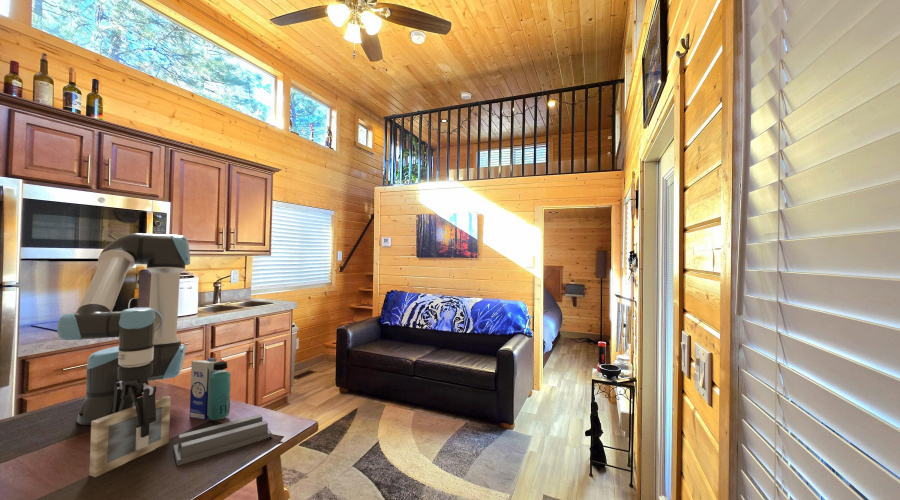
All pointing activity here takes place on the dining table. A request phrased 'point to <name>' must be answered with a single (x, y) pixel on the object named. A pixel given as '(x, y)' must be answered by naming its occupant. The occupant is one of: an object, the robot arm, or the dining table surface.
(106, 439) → the picture frame
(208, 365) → the milk carton
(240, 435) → the display stand
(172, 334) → the robot arm
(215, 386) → the beverage bottle
